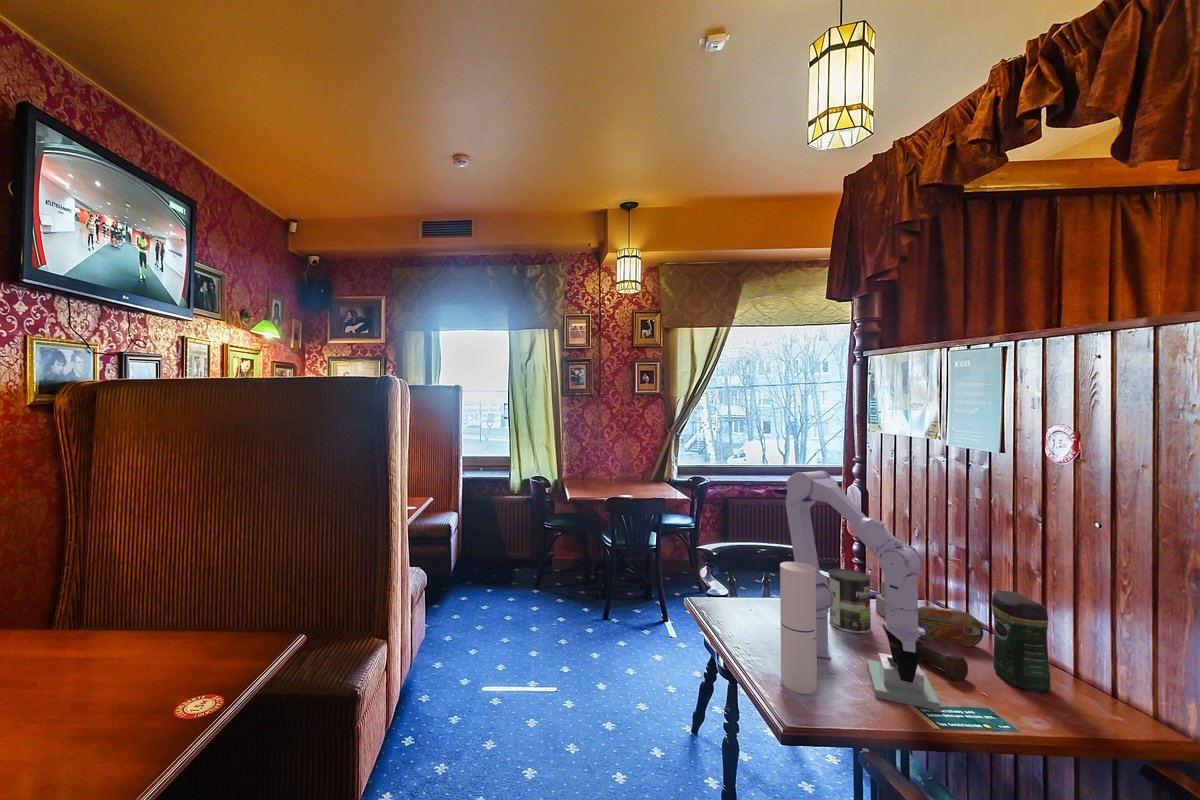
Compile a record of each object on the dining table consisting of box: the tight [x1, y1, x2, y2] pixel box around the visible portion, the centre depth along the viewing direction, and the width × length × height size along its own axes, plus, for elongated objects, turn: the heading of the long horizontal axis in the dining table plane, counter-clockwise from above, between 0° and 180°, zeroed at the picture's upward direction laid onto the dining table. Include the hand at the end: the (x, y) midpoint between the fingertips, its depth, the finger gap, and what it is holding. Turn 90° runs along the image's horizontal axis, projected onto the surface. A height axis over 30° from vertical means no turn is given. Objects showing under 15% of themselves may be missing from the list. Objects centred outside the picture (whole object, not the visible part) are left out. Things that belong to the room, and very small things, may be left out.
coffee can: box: [828, 568, 872, 634], centre depth 127 cm, size 10×10×14 cm
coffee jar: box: [991, 590, 1051, 693], centre depth 101 cm, size 10×8×19 cm
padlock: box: [875, 580, 886, 618], centre depth 134 cm, size 7×4×10 cm, turn 2°
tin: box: [918, 605, 984, 648], centre depth 118 cm, size 15×3×8 cm, turn 68°
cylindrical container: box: [779, 561, 818, 695], centre depth 99 cm, size 7×7×25 cm
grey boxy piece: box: [878, 652, 924, 693], centre depth 97 cm, size 7×7×4 cm
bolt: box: [915, 638, 969, 683], centre depth 107 cm, size 6×5×15 cm
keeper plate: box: [866, 659, 941, 712], centre depth 98 cm, size 11×13×4 cm
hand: (902, 671), depth 95 cm, fingers open, 7 cm apart
